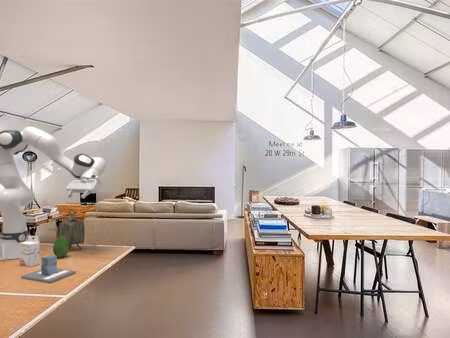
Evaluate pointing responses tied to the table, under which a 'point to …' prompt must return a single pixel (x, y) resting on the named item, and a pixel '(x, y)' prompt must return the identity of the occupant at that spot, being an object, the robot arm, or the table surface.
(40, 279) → the letter board
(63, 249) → the fruit
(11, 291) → the table surface
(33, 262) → the ink cartridge box
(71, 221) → the olive bag
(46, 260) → the slate-blue block
